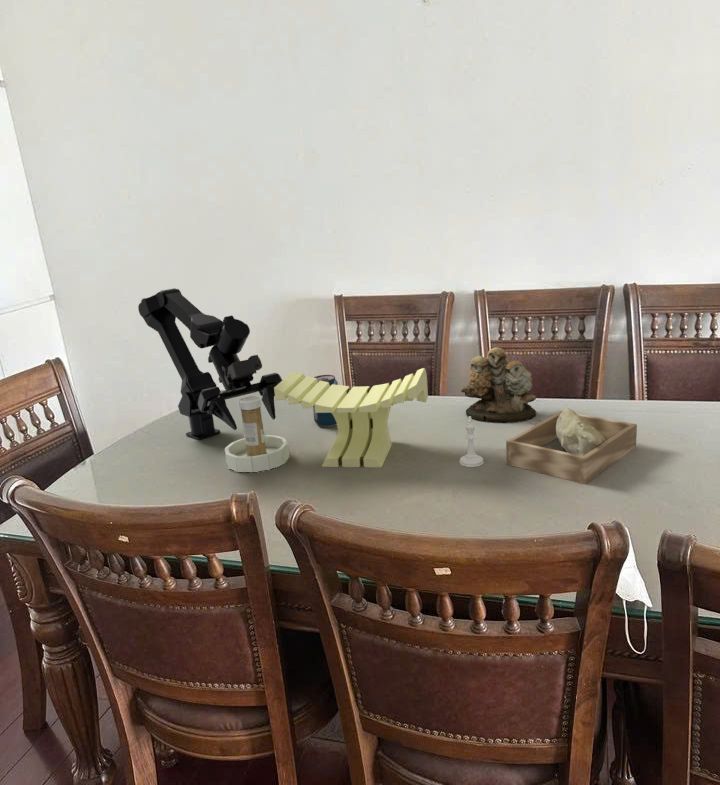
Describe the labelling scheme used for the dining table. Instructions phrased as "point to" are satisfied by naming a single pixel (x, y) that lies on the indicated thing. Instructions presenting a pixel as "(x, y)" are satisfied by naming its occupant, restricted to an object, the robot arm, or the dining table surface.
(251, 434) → the sprinkles bottle
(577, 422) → the pale beige rock
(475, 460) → the chess piece
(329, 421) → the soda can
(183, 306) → the robot arm
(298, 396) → the slatted curved stool
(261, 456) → the bowl
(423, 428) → the dining table surface
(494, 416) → the owl figurine
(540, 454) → the light brown wooden tray
